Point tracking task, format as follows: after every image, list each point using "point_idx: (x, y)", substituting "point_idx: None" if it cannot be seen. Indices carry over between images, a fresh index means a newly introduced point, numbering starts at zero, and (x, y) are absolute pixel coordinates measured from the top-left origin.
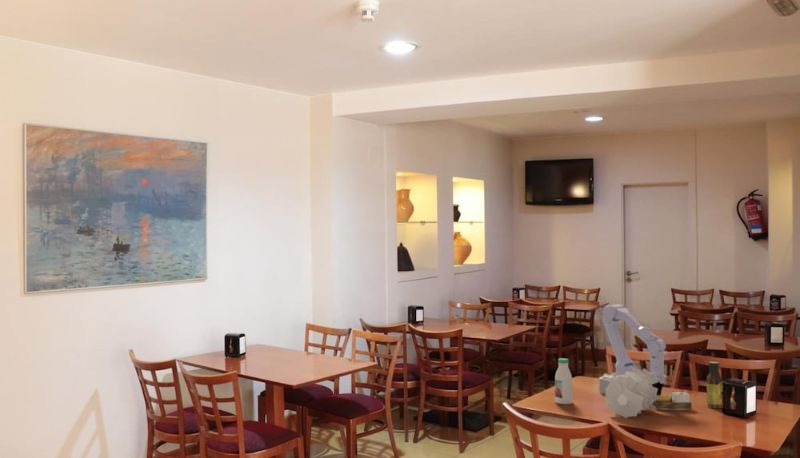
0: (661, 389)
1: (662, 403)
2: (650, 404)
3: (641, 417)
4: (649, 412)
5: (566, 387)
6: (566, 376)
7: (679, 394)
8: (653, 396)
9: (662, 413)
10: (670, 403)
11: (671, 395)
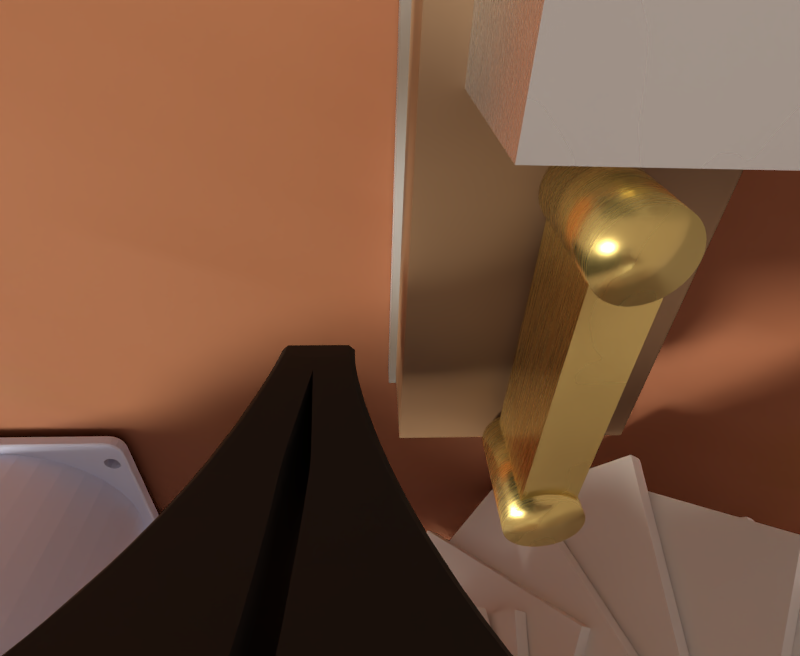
0: (391, 474)
1: (649, 356)
2: (637, 491)
3: (783, 526)
4: (663, 447)
5: None
6: None
7: None
8: (794, 615)
9: (762, 344)
10: (708, 227)
11: (704, 238)
